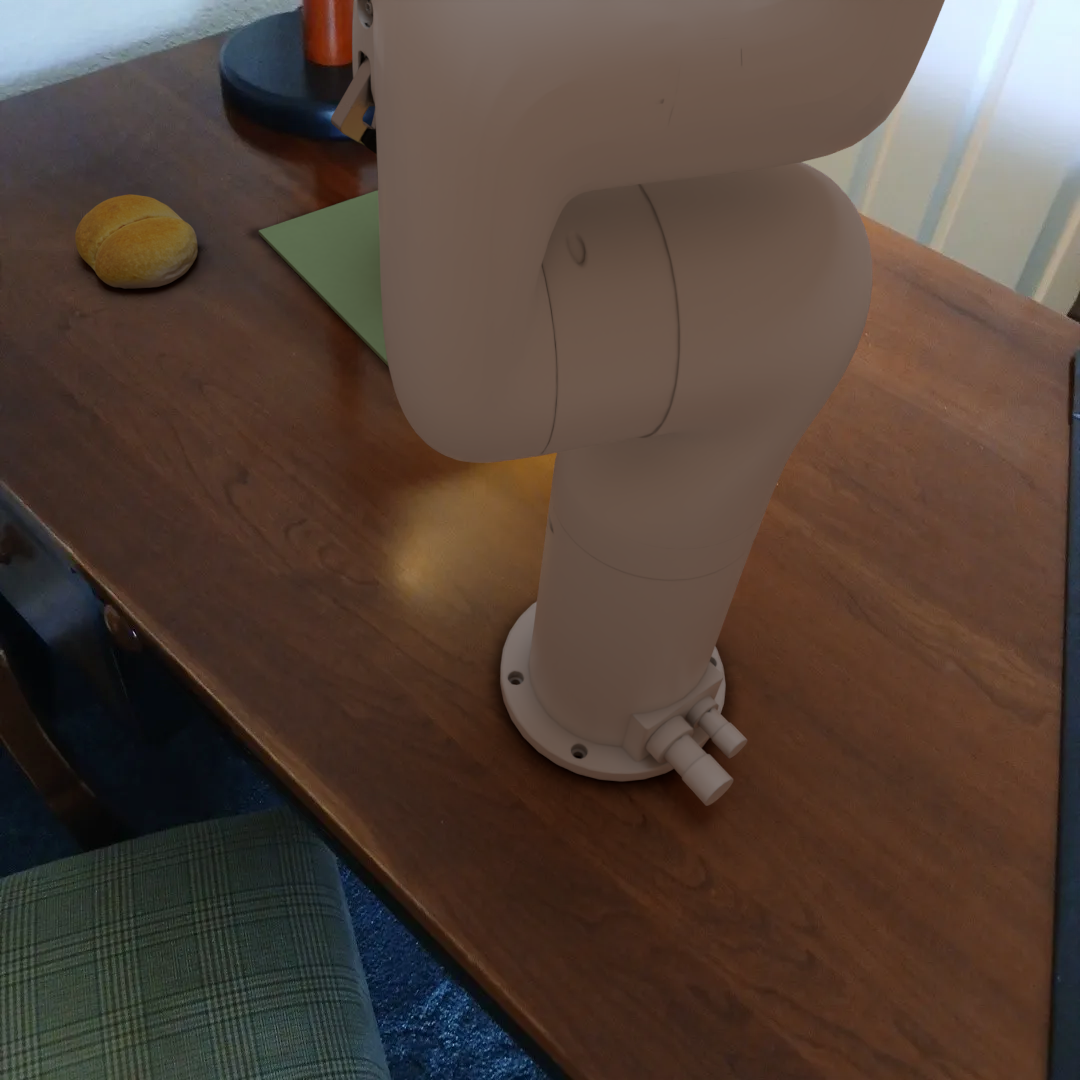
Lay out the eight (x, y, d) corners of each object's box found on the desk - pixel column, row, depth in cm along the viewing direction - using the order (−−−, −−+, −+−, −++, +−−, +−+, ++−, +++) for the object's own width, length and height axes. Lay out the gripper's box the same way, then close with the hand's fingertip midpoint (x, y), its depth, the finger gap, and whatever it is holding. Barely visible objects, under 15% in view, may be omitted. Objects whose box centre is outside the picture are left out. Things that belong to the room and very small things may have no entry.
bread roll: (121, 308, 76) (107, 262, 73) (66, 247, 80) (51, 201, 77) (222, 269, 80) (214, 223, 77) (165, 213, 84) (155, 167, 81)
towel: (608, 305, 81) (609, 301, 81) (413, 392, 73) (413, 388, 73) (445, 171, 91) (445, 166, 91) (258, 234, 83) (258, 230, 83)
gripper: (339, -21, 58) (357, 256, 72) (578, -77, 65) (552, 184, 79) (271, -72, 61) (301, 202, 75) (506, -119, 69) (493, 138, 83)
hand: (430, 190), depth 77 cm, fingers closed on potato, 5 cm apart
